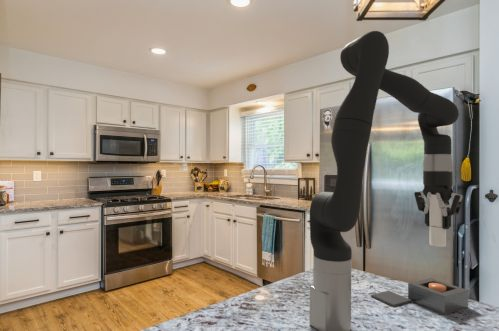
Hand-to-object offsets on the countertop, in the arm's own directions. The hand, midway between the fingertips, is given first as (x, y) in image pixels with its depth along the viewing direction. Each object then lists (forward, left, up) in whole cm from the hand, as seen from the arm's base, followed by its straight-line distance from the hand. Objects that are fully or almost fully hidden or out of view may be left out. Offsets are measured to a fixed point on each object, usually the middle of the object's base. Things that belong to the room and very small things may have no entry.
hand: (437, 227), depth 92 cm
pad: (-10, +8, -23) cm, 26 cm away
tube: (0, 0, -5) cm, 5 cm away
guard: (0, 0, -23) cm, 23 cm away
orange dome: (0, 0, -19) cm, 19 cm away
